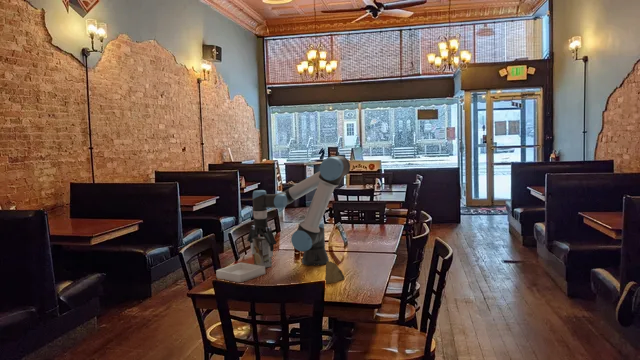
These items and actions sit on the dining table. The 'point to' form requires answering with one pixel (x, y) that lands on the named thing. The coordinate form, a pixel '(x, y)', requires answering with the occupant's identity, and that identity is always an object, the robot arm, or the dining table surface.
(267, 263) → the coffee box
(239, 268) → the tray
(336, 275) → the rock
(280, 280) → the dining table surface
